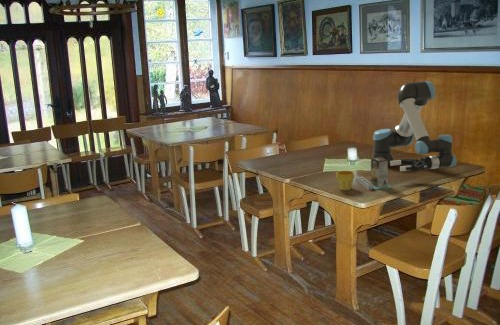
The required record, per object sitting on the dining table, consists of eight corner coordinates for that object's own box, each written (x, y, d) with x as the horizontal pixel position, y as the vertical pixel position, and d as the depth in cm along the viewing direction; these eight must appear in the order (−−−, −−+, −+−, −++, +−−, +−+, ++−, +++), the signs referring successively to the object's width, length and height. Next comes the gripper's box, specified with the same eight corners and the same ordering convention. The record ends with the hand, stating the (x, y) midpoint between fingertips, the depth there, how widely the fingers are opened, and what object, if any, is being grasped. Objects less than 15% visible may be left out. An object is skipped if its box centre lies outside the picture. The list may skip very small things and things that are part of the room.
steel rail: (361, 180, 310) (361, 175, 309) (373, 189, 291) (373, 184, 290) (356, 181, 310) (356, 176, 309) (368, 190, 290) (368, 184, 290)
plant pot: (334, 187, 301) (334, 171, 298) (351, 185, 301) (351, 169, 299) (339, 192, 290) (338, 175, 288) (356, 190, 291) (356, 174, 289)
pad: (383, 182, 303) (383, 181, 303) (391, 188, 291) (391, 187, 291) (367, 184, 302) (367, 183, 301) (375, 189, 290) (375, 189, 290)
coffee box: (370, 184, 300) (370, 158, 296) (380, 182, 301) (380, 156, 297) (378, 188, 291) (378, 161, 287) (388, 186, 293) (388, 159, 289)
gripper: (439, 174, 286) (404, 177, 284) (419, 163, 310) (386, 167, 308) (440, 161, 284) (404, 164, 282) (419, 152, 308) (386, 155, 306)
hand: (395, 166), depth 295 cm, fingers open, 13 cm apart
